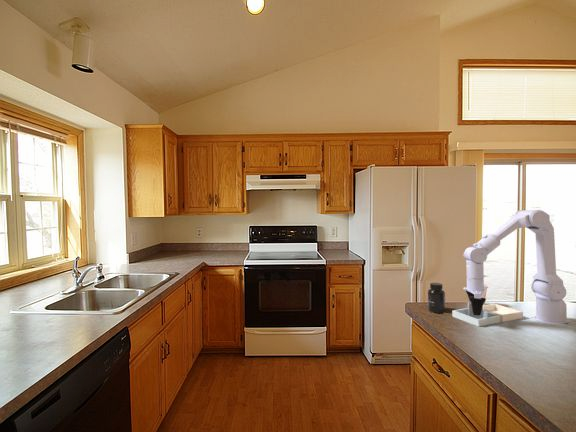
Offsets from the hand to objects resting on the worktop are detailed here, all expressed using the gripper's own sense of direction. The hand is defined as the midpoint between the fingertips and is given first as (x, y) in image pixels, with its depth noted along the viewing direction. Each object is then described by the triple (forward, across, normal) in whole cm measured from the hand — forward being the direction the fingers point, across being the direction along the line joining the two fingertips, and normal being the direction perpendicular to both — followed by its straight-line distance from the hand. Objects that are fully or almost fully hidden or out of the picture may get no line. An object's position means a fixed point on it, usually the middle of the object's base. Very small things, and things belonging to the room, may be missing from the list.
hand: (475, 311), depth 115 cm
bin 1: (+3, 0, 0) cm, 3 cm away
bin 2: (+3, -9, +9) cm, 13 cm away
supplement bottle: (+4, -7, -14) cm, 16 cm away
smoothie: (+4, -22, +4) cm, 22 cm away
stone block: (+3, 0, 0) cm, 3 cm away
